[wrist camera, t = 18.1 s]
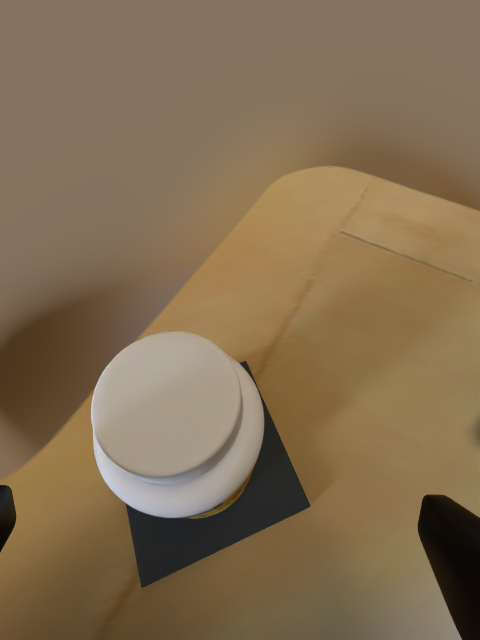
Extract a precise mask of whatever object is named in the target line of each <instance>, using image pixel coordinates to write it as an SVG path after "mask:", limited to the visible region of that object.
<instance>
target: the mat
mask: <svg viewBox="0 0 480 640" xmlns="http://www.w3.org/2000/svg"><path fill="white" fill-rule="evenodd" d="M239 364H240V365H241V366H242V367H243V368H244V369H245V370H246V371H247V373H248V374H249V375H250V377H251V378H252V380H253V382H254V383H255V385H256V382H255V380H254V378H253V376H252V373H251V371H250V369H249V367H248V364H247V362H246V361H244V362H241V363H239ZM256 387H257V385H256ZM257 389H258V387H257ZM258 392H259V395H260V398H261V402H262V405H263V412H264V434H263V441H262V445H261V449H260V452H259V455H258V459H257V461H256V464H255V466H254V469H253V472H252V474H251V477H250V479H249V482H248V484H247V486H246V488H245V489H244V491H243V492H242V494H241V495H240V496H239V498H238V499H237V500H236V501H235V502H234V503H233V504H232V505H230V506H229V507H228V508H227V509H225V510H223V511H222V512H220V513H218V514H215V515H213V516H210V517H206V518H198V519H189V518H162V517H157V516H153V515H149V514H146V513H144V512H141V511H138V510H136V509H134V508H133V507H131V506H129V505H128V504H126V506H127V512H128V517H129V522H130V528H131V533H132V539H133V544H134V550H135V555H136V560H137V566H138V571H139V577H140V582H141V587H144V586H147V585H149V584H151V583H153V582H155V581H157V580H159V579H161V578H163V577H165V576H167V575H169V574H171V573H174V572H176V571H178V570H180V569H182V568H184V567H186V566H188V565H190V564H192V563H194V562H196V561H198V560H200V559H203V558H205V557H207V556H209V555H211V554H213V553H215V552H217V551H219V550H221V549H223V548H225V547H227V546H230V545H232V544H234V543H236V542H238V541H240V540H242V539H244V538H246V537H248V536H250V535H252V534H254V533H256V532H259V531H261V530H263V529H265V528H267V527H269V526H271V525H273V524H275V523H277V522H279V521H281V520H283V519H286V518H288V517H290V516H292V515H294V514H296V513H298V512H300V511H302V510H304V509H306V508H308V507H310V504H309V502H308V500H307V497H306V495H305V493H304V491H303V488H302V486H301V484H300V482H299V479H298V477H297V475H296V473H295V470H294V468H293V466H292V464H291V461H290V459H289V457H288V455H287V452H286V450H285V448H284V446H283V443H282V441H281V439H280V437H279V434H278V432H277V430H276V428H275V425H274V423H273V421H272V419H271V416H270V414H269V412H268V409H267V407H266V405H265V403H264V400H263V398H262V396H261V394H260V391H259V389H258Z"/></svg>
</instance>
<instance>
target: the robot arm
mask: <svg viewBox="0 0 480 640" xmlns="http://www.w3.org/2000/svg"><path fill="white" fill-rule="evenodd" d="M15 522H16V511H15V506H14V500H13V495H12V490H11V488H10V487H9V486H7V485H0V552H1V550H2V548H3V547H4V545H5V543H6V541H7V539H8V537H9V536H10V534H11V532H12V530H13V528H14V525H15ZM418 533H419V537H420V540H421V542H422V545H423V547H424V550H425V552H426V555H427V557H428V560H429V562H430V565H431V567H432V570H433V572H434V575H435V577H436V580H437V582H438V584H439V587H440V589H441V592H442V594H443V597H444V599H445V602H446V604H447V607H448V609H449V612H450V614H451V616H452V619H453V621H454V623H455V626H456V628H457V630H458V632H459V634H460V636H461V638H462V640H480V518H479V517H478V516H476V515H475V514H473V513H472V512H470V511H468V510H467V509H465V508H464V507H462V506H461V505H459V504H458V503H456V502H455V501H453V500H452V499H450V498H449V497H447V496H445V495H425V496H424V497H423V500H422V505H421V510H420V516H419V521H418Z"/></svg>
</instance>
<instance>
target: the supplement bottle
mask: <svg viewBox="0 0 480 640" xmlns="http://www.w3.org/2000/svg"><path fill="white" fill-rule="evenodd" d="M91 422H92V427H93V445H94V454H95V458H96V462H97V465H98V468H99V470H100V473H101V475H102V477H103V479H104V480H105V482H106V484H107V485H108V486H109V488H110V489H111V490H112V491H113V492H114V493H115V494H116V495H117V496H118V497H119V498H120V499H121V500H122V501H124V502H125V503H126V504H128V505H129V506H131V507H133V508H134V509H136V510H138V511H141V512H144V513H146V514H149V515H153V516H157V517H162V518H189V519H198V518H206V517H210V516H213V515H215V514H218V513H220V512H222V511H223V510H225V509H227V508H228V507H229V506H230V505H232V504H233V503H234V502H235V501H236V500H237V499H238V498H239V496H240V495H241V494H242V492H243V491H244V489H245V488H246V486H247V484H248V482H249V479H250V477H251V474H252V472H253V469H254V466H255V464H256V461H257V459H258V455H259V452H260V449H261V445H262V441H263V434H264V412H263V405H262V402H261V398H260V395H259V392H258V389H257V387H256V385H255V383H254V382H253V380H252V378H251V377H250V375H249V374H248V373H247V371H246V370H245V369H244V368H243V367H242V366H241V365H240V364H239V363H238V362H237V361H236V360H235V359H233V358H232V357H230V356H229V355H227V354H225V352H224V351H223V350H222V349H221V348H219V347H218V346H217V345H216V344H214V343H213V342H211V341H210V340H208V339H206V338H204V337H202V336H199V335H196V334H192V333H188V332H177V331H170V332H162V333H157V334H153V335H149V336H147V337H144V338H142V339H140V340H138V341H136V342H133V343H132V344H130V345H129V346H128V347H126V348H124V349H123V350H122V351H121V352H120V353H118V354H117V355H116V356H115V358H114V359H113V360H112V361H111V362H110V363H109V364H108V365H107V367H106V368H105V370H104V371H103V373H102V375H101V376H100V379H99V380H98V383H97V385H96V388H95V390H94V393H93V398H92V404H91Z"/></svg>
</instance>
